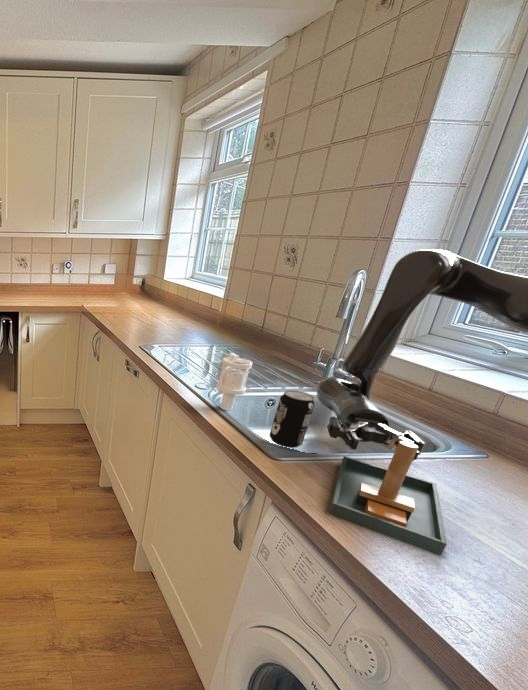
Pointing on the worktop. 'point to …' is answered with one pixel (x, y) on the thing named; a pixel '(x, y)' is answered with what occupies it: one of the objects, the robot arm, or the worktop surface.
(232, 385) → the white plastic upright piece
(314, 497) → the worktop surface
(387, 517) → the orange wooden block
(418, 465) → the worktop surface
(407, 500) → the brush
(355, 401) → the robot arm
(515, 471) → the worktop surface
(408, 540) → the tray
